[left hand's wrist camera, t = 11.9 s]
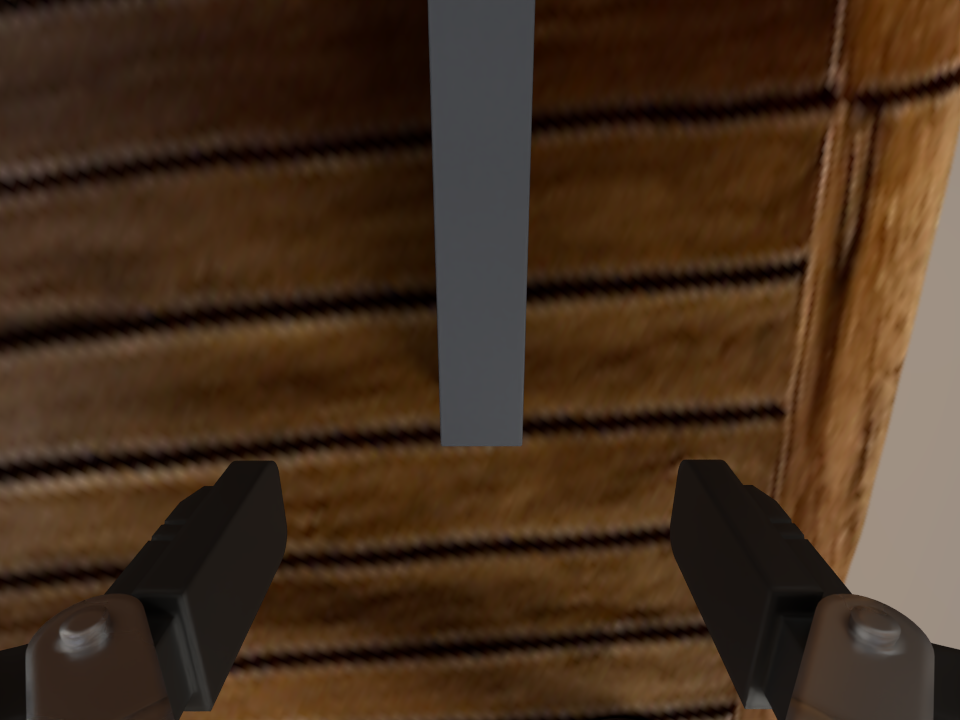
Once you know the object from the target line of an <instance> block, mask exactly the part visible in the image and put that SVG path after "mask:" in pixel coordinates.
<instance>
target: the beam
mask: <svg viewBox="0 0 960 720" xmlns="http://www.w3.org/2000/svg"><path fill="white" fill-rule="evenodd" d="M534 21H535V0H428V29H429V62H430V96H431V129H432V163H433V196H434V230H435V263H436V296H437V330H438V363H439V397H440V430H441V446H522V431H523V397H524V363H525V329H526V294H527V260H528V226H529V192H530V157H531V123H532V89H533V55H534Z"/></svg>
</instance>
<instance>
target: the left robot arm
mask: <svg viewBox="0 0 960 720" xmlns="http://www.w3.org/2000/svg"><path fill="white" fill-rule="evenodd" d="M670 539H671V546H672V551H673V554H674V557H675V559H676V561H677V564H678V566H679V568H680V570H681V572H682V574H683V577H684V579H685V581H686V583H687V585H688V587H689V589H690V592H691V594H692V596H693V598H694V600H695V602H696V605H697V607H698V609H699V611H700V613H701V615H702V617H703V620H704V622H705V624H706V626H707V628H708V630H709V633H710V635H711V637H712V639H713V641H714V643H715V645H716V648H717V650H718V652H719V654H720V656H721V658H722V661H723V663H724V665H725V667H726V669H727V671H728V674H729V676H730V678H731V680H732V682H733V684H734V686H735V689H736V691H737V693H738V695H739V697H740V699H741V702H742V704H743V706H744V708H745V709H772V710H773V712H774V714H775V716H776V718H777V720H960V650H958V649H954V648H950V647H945V646H941V645H937V644H933V643H931V642H930V641H929V639H928V638H927V636H926V635H925V634H924V632H923V631H922V630H921V629H920V628H919V627H918V626H917V625H916V624H915V623H914V622H913V621H911V620H910V619H909V618H907V617H906V616H905V615H903V614H902V613H900V612H898V611H897V610H895V609H893V608H891V607H890V606H888V605H886V604H883V603H881V602H879V601H876V600H873V599H870V598H867V597H863V596H859V595H854V594H852V593H851V592H850V591H849V590H848V589H847V587H846V586H845V585H844V584H843V582H842V581H841V580H840V579H839V577H838V576H837V575H836V574H835V573H834V571H833V570H832V569H831V568H830V566H829V565H828V564H827V563H826V562H825V560H824V559H823V558H822V557H821V555H820V554H819V553H818V552H817V551H816V549H815V548H814V547H813V546H812V544H811V543H810V542H809V541H808V539H804V535H803V533H802V532H801V531H800V530H799V528H798V527H797V526H796V525H795V524H794V523H792V522H791V519H790V517H789V516H788V515H787V514H786V513H785V511H784V510H783V509H782V508H781V506H780V505H779V504H778V503H777V501H775V500H774V499H772V498H771V497H769V496H768V495H766V494H765V493H763V492H762V491H760V490H759V489H757V488H756V487H754V486H753V485H743V484H742V483H741V482H740V480H739V479H738V478H737V476H736V475H735V474H734V473H733V471H732V470H731V469H730V467H729V466H728V465H727V463H726V462H725V461H723V460H683V461H682V462H681V464H680V466H679V470H678V476H677V482H676V489H675V496H674V503H673V510H672V516H671V524H670ZM286 541H287V524H286V517H285V510H284V504H283V497H282V490H281V484H280V477H279V471H278V467H277V465H276V463H275V462H274V461H233V462H232V463H231V464H230V465H229V466H228V468H227V469H226V470H225V472H224V473H223V474H222V476H221V477H220V478H219V479H218V481H217V482H216V483H215V485H214V486H204V487H202V488H201V489H199V490H198V491H196V492H195V493H193V494H192V495H190V496H189V497H187V498H186V499H184V500H183V501H181V502H180V503H179V504H178V506H177V507H176V508H175V509H174V510H173V512H172V513H171V514H170V515H169V516H168V518H167V519H166V520H165V524H164V525H161V526H160V527H159V529H158V530H157V531H156V532H155V533H154V535H153V536H152V540H151V541H148V542H147V543H146V544H145V546H144V547H143V548H142V549H141V550H140V552H139V553H138V554H137V555H136V557H135V558H134V559H133V560H132V561H131V563H130V564H129V565H128V566H127V567H126V569H125V570H124V571H123V572H122V574H121V575H120V576H119V577H118V578H117V580H116V581H115V582H114V583H113V584H112V586H111V587H110V588H109V589H108V591H107V592H106V593H105V594H104V595H101V596H97V597H93V598H90V599H87V600H84V601H81V602H79V603H77V604H74V605H72V606H70V607H69V608H67V609H65V610H63V611H62V612H60V613H58V614H57V615H55V616H54V617H53V618H51V619H50V620H49V621H47V622H46V623H45V624H44V625H43V626H42V627H41V628H40V629H39V630H38V631H37V632H36V634H35V635H34V636H33V638H32V639H31V641H30V642H29V644H26V645H22V646H18V647H14V648H10V649H6V650H2V651H0V720H179V719H180V717H181V715H182V713H183V711H211V710H212V707H213V705H214V703H215V701H216V699H217V697H218V695H219V693H220V690H221V688H222V686H223V684H224V682H225V680H226V678H227V676H228V673H229V671H230V669H231V667H232V665H233V663H234V661H235V658H236V656H237V654H238V652H239V650H240V648H241V646H242V644H243V641H244V639H245V637H246V635H247V633H248V631H249V629H250V627H251V624H252V622H253V620H254V618H255V616H256V614H257V612H258V610H259V607H260V605H261V603H262V601H263V599H264V597H265V595H266V593H267V590H268V588H269V586H270V584H271V582H272V580H273V578H274V575H275V573H276V571H277V569H278V567H279V565H280V563H281V561H282V558H283V555H284V552H285V548H286ZM603 720H636V719H629V718H610V719H603Z"/></svg>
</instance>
